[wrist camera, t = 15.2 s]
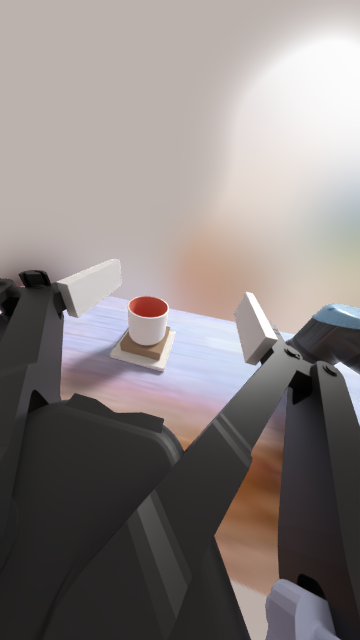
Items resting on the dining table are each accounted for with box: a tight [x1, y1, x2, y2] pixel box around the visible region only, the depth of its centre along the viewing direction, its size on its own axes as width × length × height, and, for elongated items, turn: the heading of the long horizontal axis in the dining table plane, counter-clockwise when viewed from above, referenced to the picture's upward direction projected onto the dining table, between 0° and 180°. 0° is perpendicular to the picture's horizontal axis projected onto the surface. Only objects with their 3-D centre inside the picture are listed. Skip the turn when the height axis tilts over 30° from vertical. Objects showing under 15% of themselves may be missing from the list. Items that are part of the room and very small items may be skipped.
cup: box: [128, 296, 169, 345], centre depth 38 cm, size 10×10×10 cm
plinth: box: [110, 326, 176, 372], centre depth 42 cm, size 15×15×4 cm
